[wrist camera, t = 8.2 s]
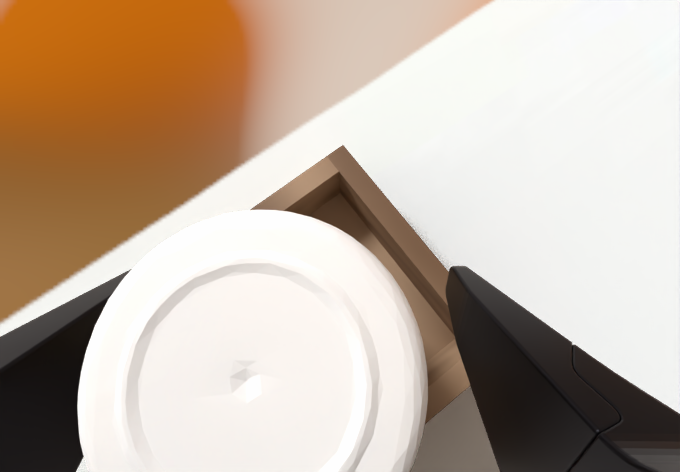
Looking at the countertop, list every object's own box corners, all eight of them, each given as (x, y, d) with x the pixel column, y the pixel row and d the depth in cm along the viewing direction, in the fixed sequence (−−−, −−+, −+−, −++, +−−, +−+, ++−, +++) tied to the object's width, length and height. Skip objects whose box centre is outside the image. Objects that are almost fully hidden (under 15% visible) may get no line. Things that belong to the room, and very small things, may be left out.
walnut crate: (297, 489, 16) (281, 546, 12) (176, 296, 18) (131, 292, 15) (476, 340, 18) (512, 349, 14) (343, 177, 20) (343, 144, 16)
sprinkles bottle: (300, 266, 18) (157, 157, 4) (380, 294, 17) (480, 263, 4) (269, 349, 17) (-18, 515, 4) (352, 380, 16) (367, 697, 3)
